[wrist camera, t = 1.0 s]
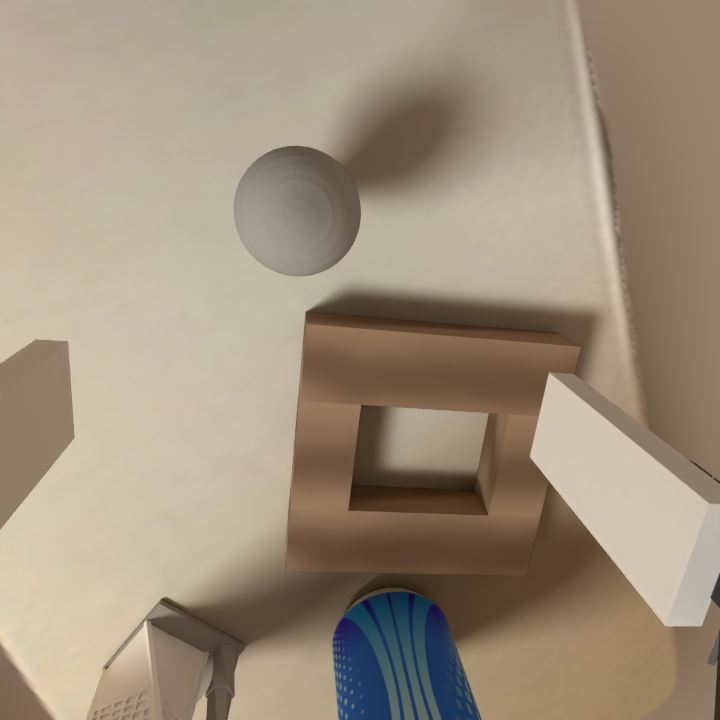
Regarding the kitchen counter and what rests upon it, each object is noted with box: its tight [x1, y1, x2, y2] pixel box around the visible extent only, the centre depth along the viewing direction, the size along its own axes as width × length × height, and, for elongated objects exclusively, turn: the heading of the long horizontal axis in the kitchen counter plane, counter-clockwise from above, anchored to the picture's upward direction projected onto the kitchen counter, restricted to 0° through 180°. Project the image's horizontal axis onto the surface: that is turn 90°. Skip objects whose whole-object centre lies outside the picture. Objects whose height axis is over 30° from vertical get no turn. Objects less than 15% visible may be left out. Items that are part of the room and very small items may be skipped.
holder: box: [285, 312, 581, 576], centre depth 35 cm, size 16×16×3 cm
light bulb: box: [234, 146, 361, 276], centre depth 26 cm, size 6×5×10 cm
